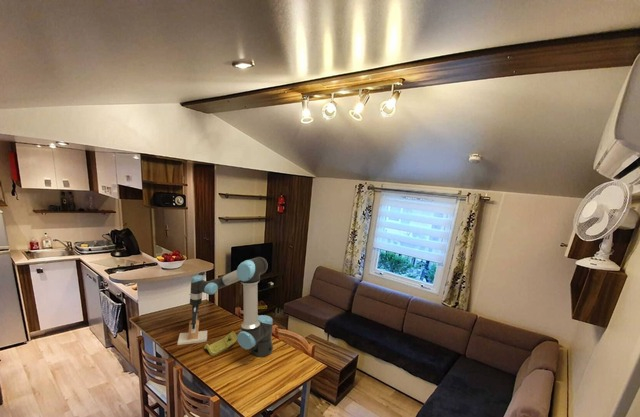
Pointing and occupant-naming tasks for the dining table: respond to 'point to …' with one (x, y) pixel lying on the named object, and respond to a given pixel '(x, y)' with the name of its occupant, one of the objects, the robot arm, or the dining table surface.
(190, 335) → the jaw
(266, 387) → the dining table surface
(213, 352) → the plastic component
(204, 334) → the white board with peg
